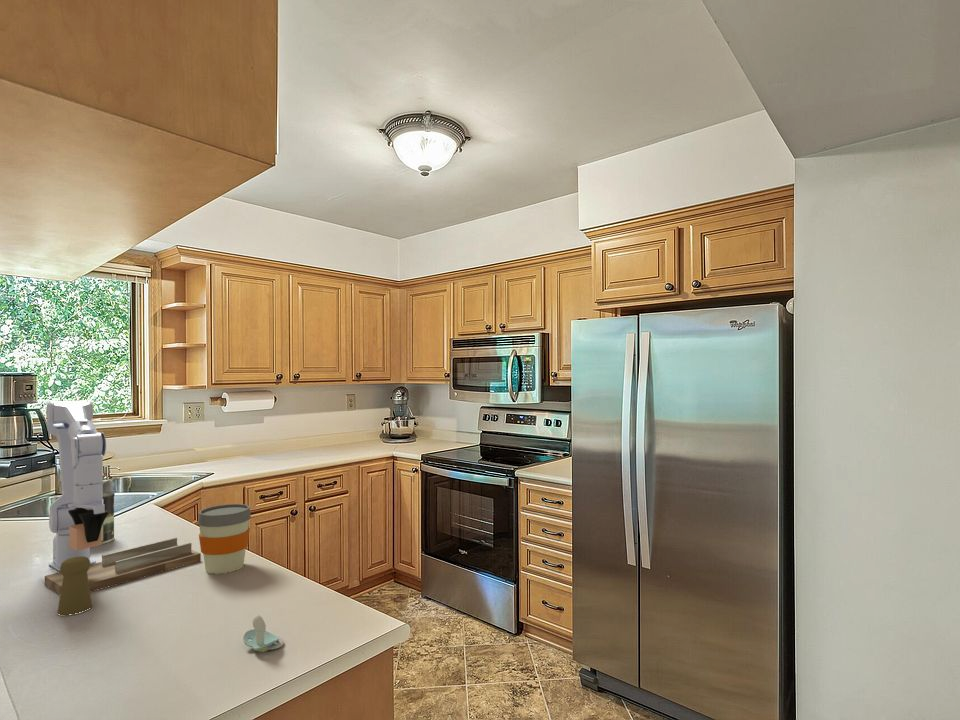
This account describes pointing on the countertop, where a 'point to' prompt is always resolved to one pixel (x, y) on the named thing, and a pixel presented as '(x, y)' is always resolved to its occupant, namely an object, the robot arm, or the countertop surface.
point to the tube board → (133, 564)
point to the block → (80, 538)
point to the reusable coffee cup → (224, 536)
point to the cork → (74, 586)
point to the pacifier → (261, 637)
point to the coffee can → (108, 518)
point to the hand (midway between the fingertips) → (88, 539)
